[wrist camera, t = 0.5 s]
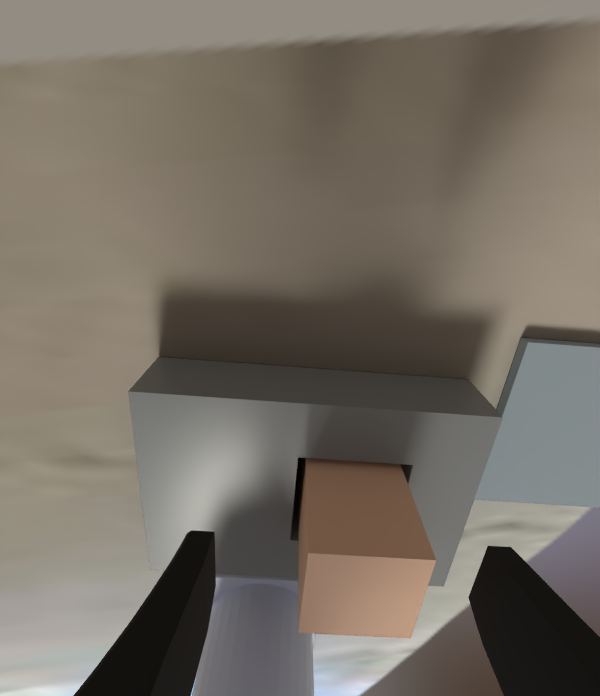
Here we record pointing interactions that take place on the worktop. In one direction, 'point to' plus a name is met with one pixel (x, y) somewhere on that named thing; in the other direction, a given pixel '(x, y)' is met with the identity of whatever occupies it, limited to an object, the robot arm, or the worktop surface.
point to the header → (296, 453)
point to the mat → (548, 427)
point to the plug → (359, 550)
